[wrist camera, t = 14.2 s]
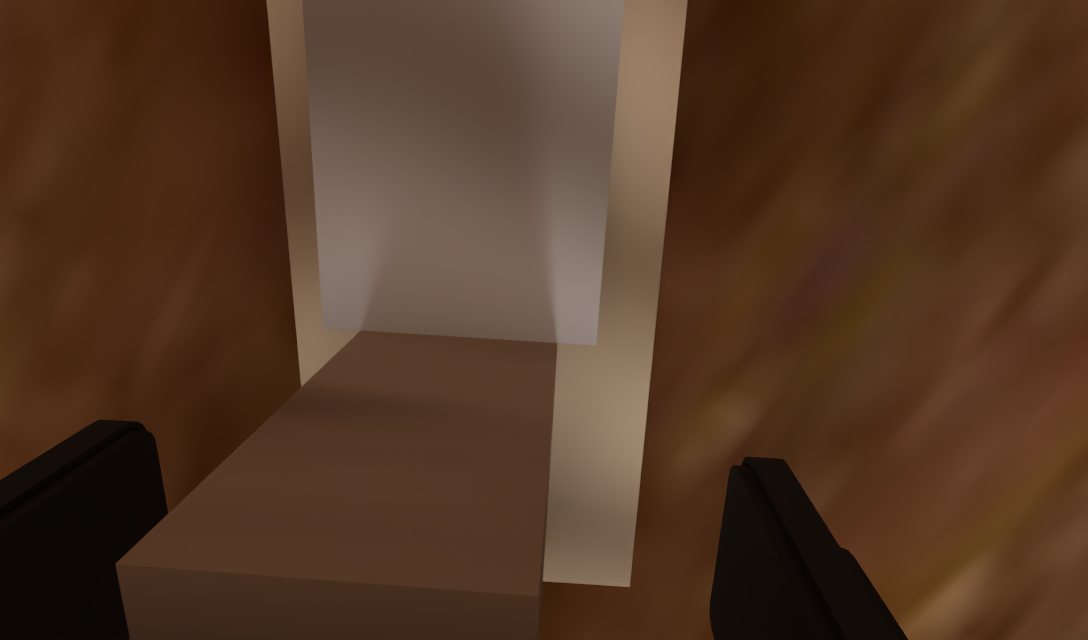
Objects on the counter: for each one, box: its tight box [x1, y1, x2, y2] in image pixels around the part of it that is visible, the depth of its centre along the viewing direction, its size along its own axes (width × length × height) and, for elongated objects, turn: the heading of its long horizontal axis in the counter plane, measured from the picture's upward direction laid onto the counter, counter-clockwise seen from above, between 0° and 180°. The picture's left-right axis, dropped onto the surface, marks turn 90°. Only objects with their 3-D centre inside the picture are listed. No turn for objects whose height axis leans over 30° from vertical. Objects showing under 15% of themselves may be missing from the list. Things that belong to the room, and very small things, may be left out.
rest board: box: [267, 0, 688, 587], centre depth 12 cm, size 15×7×1 cm, turn 178°
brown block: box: [115, 0, 624, 640], centre depth 8 cm, size 13×5×7 cm, turn 177°
